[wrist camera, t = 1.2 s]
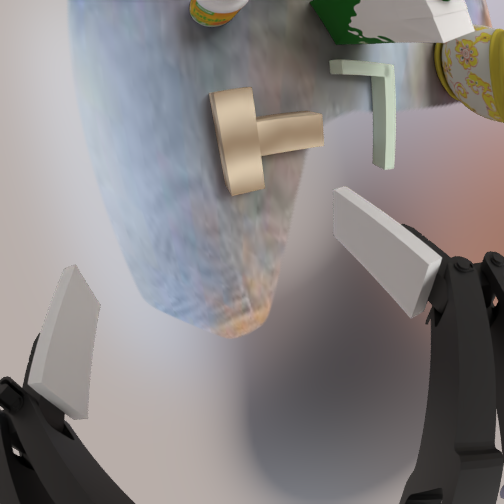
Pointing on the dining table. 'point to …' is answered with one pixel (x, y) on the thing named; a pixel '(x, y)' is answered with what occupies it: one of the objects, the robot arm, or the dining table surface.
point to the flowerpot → (474, 70)
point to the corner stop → (377, 105)
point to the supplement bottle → (215, 11)
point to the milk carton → (394, 20)
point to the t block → (256, 136)
